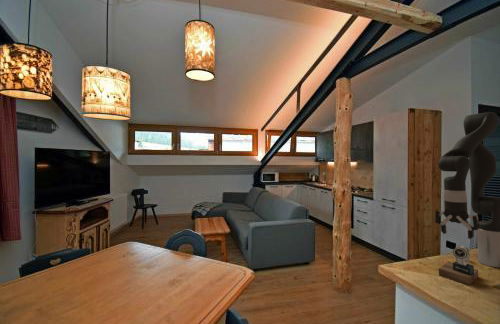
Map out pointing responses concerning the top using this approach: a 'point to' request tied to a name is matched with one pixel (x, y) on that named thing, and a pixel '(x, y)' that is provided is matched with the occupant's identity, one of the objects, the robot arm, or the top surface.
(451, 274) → the plinth
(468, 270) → the watch
